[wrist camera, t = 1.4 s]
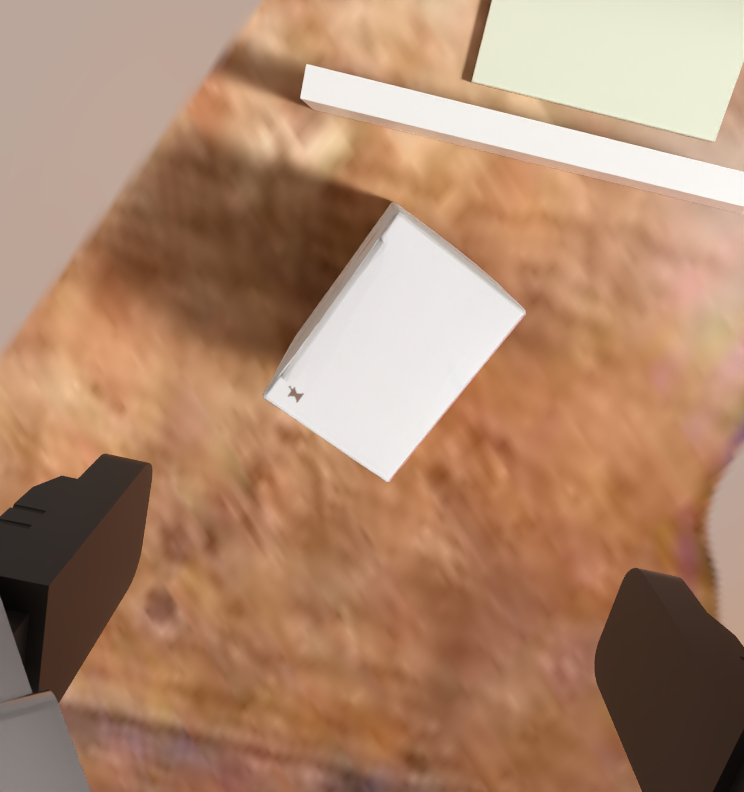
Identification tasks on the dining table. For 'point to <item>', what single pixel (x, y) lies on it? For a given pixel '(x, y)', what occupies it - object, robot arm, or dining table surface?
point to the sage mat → (619, 58)
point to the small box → (392, 343)
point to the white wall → (522, 138)
